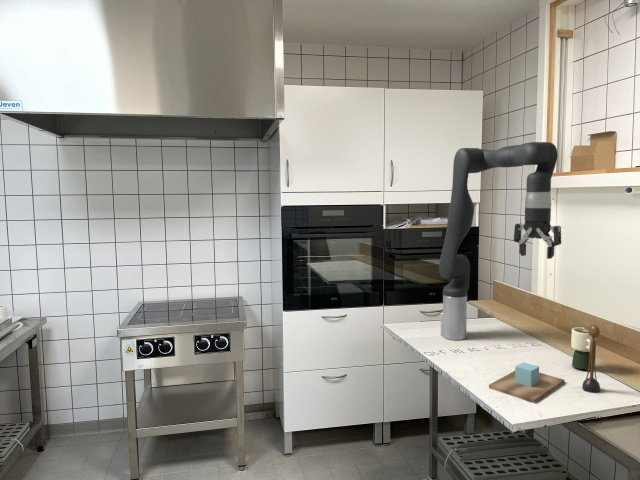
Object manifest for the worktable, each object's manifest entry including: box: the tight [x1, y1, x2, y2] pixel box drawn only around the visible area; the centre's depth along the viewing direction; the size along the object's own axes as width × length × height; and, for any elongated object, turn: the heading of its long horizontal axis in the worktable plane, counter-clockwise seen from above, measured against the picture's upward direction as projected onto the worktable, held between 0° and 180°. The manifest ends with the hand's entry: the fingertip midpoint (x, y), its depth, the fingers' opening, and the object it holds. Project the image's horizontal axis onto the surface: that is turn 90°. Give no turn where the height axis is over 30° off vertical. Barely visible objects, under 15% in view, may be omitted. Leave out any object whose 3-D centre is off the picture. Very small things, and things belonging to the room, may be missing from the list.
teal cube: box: [514, 361, 540, 387], centre depth 150 cm, size 5×5×5 cm
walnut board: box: [488, 370, 566, 404], centre depth 150 cm, size 14×20×1 cm
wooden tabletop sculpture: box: [581, 323, 601, 394], centre depth 145 cm, size 6×5×20 cm
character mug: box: [570, 326, 597, 371], centre depth 162 cm, size 11×7×13 cm, turn 174°
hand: (536, 257), depth 156 cm, fingers open, 8 cm apart
